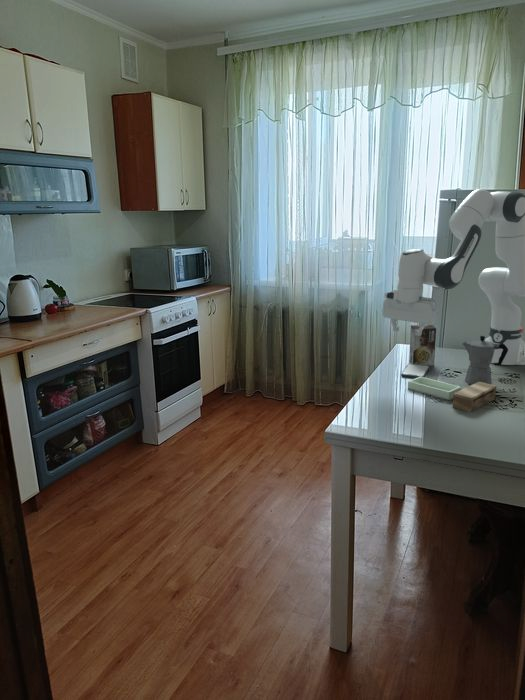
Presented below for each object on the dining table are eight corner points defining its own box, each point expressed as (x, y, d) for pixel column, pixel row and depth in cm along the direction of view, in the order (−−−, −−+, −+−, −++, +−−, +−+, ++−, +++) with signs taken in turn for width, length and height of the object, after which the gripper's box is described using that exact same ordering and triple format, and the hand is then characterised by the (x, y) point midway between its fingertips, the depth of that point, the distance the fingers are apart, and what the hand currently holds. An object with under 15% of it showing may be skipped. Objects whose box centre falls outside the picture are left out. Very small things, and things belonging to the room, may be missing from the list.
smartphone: (407, 367, 212) (400, 377, 198) (408, 363, 212) (400, 373, 198) (429, 369, 208) (423, 380, 194) (430, 366, 208) (424, 376, 194)
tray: (419, 384, 190) (420, 376, 189) (460, 394, 178) (461, 386, 177) (407, 389, 184) (408, 381, 184) (448, 400, 173) (449, 392, 172)
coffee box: (429, 361, 217) (432, 324, 213) (434, 366, 211) (437, 327, 207) (408, 361, 217) (410, 324, 213) (412, 366, 211) (414, 328, 207)
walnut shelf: (477, 394, 178) (479, 381, 177) (494, 399, 173) (496, 385, 172) (452, 407, 167) (453, 393, 166) (470, 412, 163) (471, 398, 161)
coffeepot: (458, 384, 188) (462, 337, 183) (459, 377, 196) (463, 331, 192) (504, 389, 182) (509, 340, 177) (504, 381, 190) (509, 334, 186)
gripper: (440, 297, 177) (437, 336, 180) (391, 291, 191) (388, 327, 195) (431, 299, 172) (427, 339, 176) (380, 293, 187) (378, 329, 191)
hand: (406, 333), depth 186 cm, fingers open, 8 cm apart
